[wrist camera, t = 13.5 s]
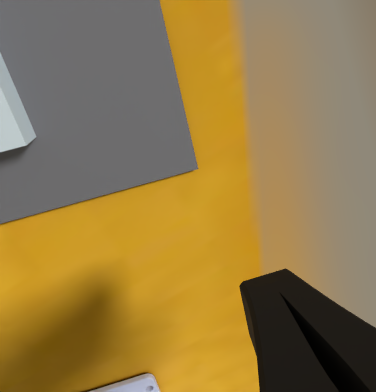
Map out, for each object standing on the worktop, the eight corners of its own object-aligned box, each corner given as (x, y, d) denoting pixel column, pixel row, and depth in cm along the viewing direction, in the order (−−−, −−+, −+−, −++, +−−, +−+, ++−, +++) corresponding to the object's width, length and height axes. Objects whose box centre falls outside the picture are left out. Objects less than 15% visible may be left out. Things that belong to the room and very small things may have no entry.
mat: (196, 166, 17) (198, 168, 17) (-35, 230, 16) (-38, 234, 16) (110, -206, 11) (109, -215, 11) (-250, -133, 11) (-264, -140, 10)
